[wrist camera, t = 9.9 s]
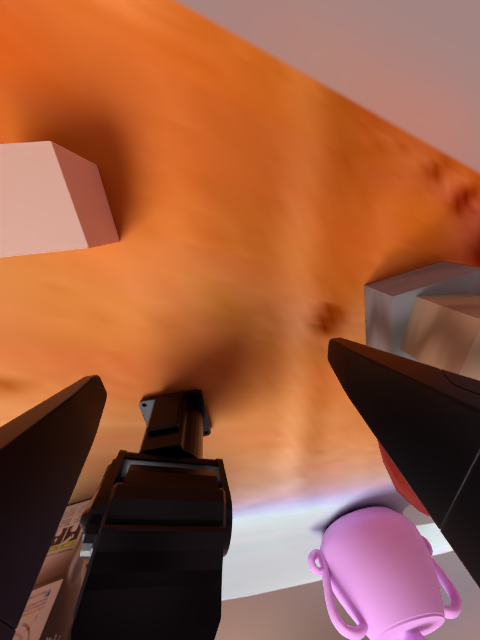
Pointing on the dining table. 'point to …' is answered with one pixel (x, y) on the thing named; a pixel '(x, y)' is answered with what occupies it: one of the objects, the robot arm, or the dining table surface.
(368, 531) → the pink pot
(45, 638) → the coffee box
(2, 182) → the pale pink cube
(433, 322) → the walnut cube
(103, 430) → the dining table surface
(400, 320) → the grey flat block
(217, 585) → the robot arm
